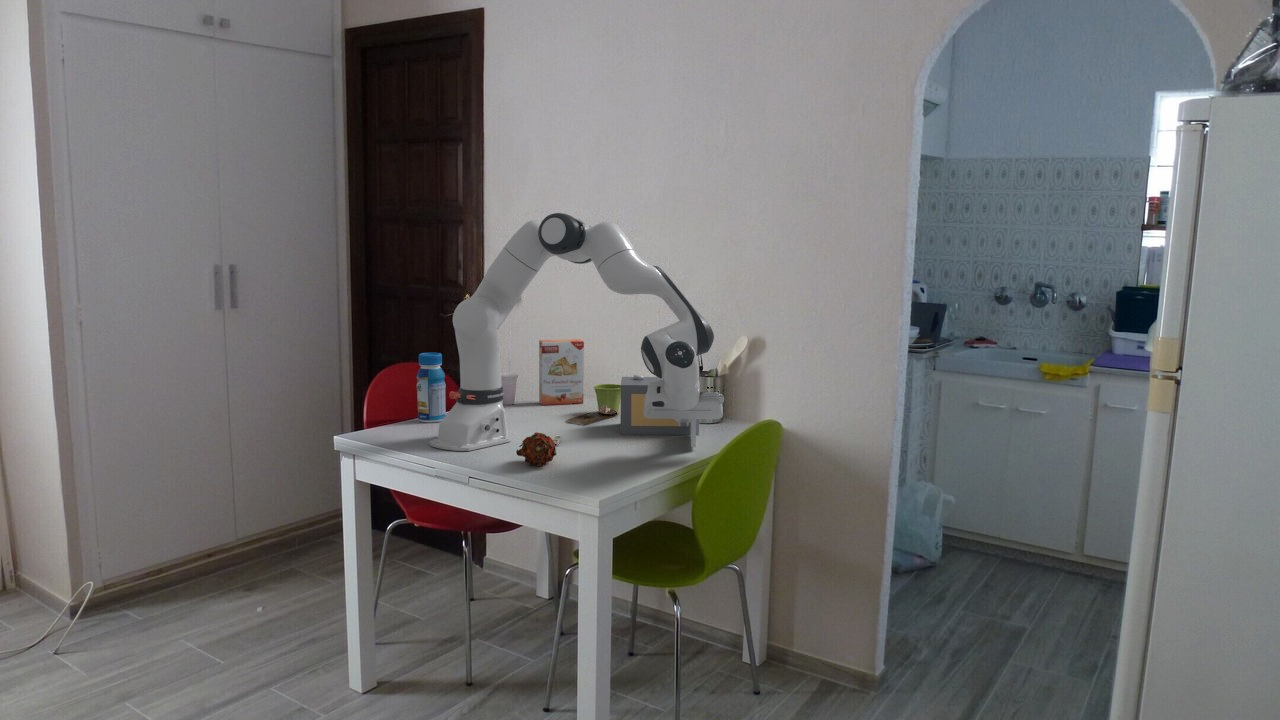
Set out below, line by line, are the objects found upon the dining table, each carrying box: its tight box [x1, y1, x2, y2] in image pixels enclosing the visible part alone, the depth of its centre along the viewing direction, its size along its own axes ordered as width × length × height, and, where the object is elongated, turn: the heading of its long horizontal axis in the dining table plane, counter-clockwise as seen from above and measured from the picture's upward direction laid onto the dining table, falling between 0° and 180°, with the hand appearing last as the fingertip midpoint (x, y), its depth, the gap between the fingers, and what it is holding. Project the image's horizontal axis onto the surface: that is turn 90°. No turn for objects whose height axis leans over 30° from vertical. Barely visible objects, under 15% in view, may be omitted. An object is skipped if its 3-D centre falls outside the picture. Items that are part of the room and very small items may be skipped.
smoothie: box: [501, 360, 519, 406], centre depth 300 cm, size 6×6×14 cm
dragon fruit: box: [515, 432, 557, 467], centre depth 226 cm, size 8×8×12 cm
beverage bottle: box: [415, 352, 447, 424], centre depth 274 cm, size 8×8×20 cm
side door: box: [690, 419, 700, 448], centre depth 248 cm, size 2×18×12 cm, turn 178°
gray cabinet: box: [620, 374, 690, 436], centre depth 264 cm, size 14×20×15 cm
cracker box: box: [538, 338, 585, 406], centre depth 301 cm, size 14×6×21 cm, turn 105°
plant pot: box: [592, 383, 621, 415], centre depth 286 cm, size 9×9×9 cm
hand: (683, 424), depth 241 cm, fingers closed
